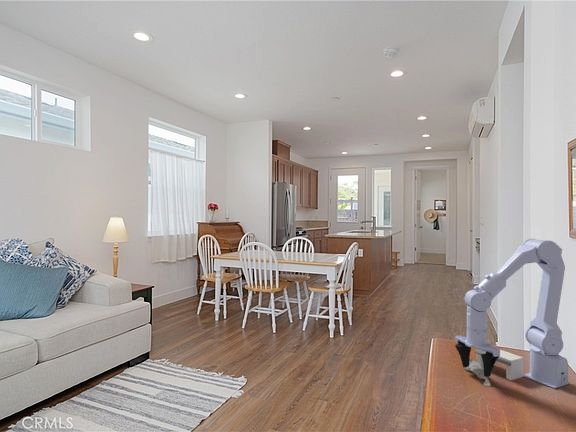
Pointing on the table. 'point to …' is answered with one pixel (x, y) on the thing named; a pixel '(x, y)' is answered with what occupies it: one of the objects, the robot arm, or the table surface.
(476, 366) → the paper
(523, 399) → the table surface
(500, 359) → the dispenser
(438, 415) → the table surface
